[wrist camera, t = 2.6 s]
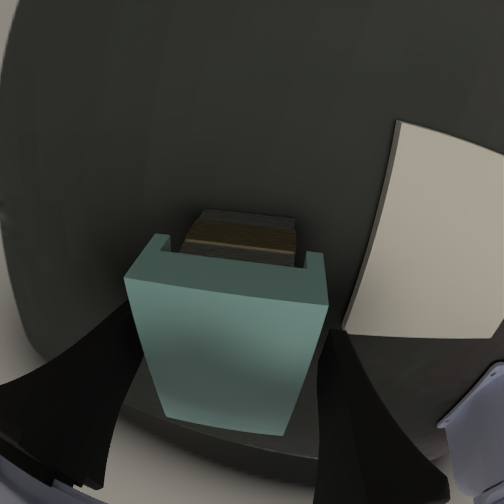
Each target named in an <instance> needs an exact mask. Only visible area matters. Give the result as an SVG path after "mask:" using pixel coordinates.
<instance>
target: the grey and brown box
mask: <svg viewBox="0 0 504 504" xmlns="http://www.w3.org/2000/svg"><path fill="white" fill-rule="evenodd" d="M178 253H182V254H189V255H197V256H205V257H213V258H221V259H229V260H237V261H245V262H253V263H262V264H270V265H278V266H287V267H294V262H295V256H296V231H295V218H288V217H280V216H271V215H262V214H253V213H244V212H235V211H225V210H215V209H204V210H203V212H202V214H201V215H200V217H199V219H198V220H195V222H194V223H193V225H192V227H191V228H190V230H189V231H188V233H187V235H186V236H185V238H184V244H183V245H182V247H181V249H180V251H179V252H178Z"/></svg>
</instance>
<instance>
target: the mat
mask: <svg viewBox="0 0 504 504" xmlns="http://www.w3.org/2000/svg"><path fill="white" fill-rule="evenodd" d="M503 319H504V155H503V154H501V153H498V152H496V151H493V150H491V149H488V148H486V147H483V146H480V145H478V144H475V143H472V142H469V141H467V140H464V139H461V138H458V137H455V136H452V135H449V134H446V133H442V132H439V131H436V130H433V129H429V128H426V127H422V126H419V125H415V124H411V123H407V122H404V121H400V120H396V125H395V131H394V136H393V142H392V147H391V152H390V157H389V162H388V166H387V171H386V176H385V180H384V184H383V189H382V193H381V197H380V201H379V205H378V209H377V213H376V217H375V221H374V224H373V228H372V232H371V235H370V239H369V242H368V246H367V249H366V253H365V256H364V259H363V263H362V266H361V269H360V272H359V275H358V279H357V282H356V285H355V288H354V291H353V294H352V297H351V300H350V303H349V305H348V308H347V311H346V314H345V317H344V320H343V322H342V330H346V331H347V333H348V334H357V335H372V336H390V337H414V338H491V337H492V335H493V334H494V332H495V331H496V329H497V328H498V326H499V325H500V323H501V322H502V320H503Z"/></svg>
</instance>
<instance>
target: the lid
mask: <svg viewBox="0 0 504 504" xmlns="http://www.w3.org/2000/svg"><path fill="white" fill-rule="evenodd" d="M124 282H125V286H126V290H127V294H128V298H129V302H130V306H131V310H132V314H133V317H134V321H135V324H136V328H137V331H138V335H139V338H140V342H141V345H142V348H143V351H144V355H145V358H146V361H147V364H148V367H149V370H150V373H151V376H152V379H153V382H154V385H155V387H156V390H157V393H158V396H159V398H160V401H161V404H162V406H163V409H164V412H165V414H166V416H167V417H171V418H175V419H179V420H184V421H188V422H193V423H198V424H203V425H208V426H213V427H219V428H225V429H231V430H238V431H245V432H253V433H261V434H270V435H280V436H283V434H284V432H285V429H286V427H287V424H288V422H289V419H290V417H291V414H292V412H293V409H294V406H295V404H296V401H297V399H298V396H299V393H300V391H301V388H302V385H303V382H304V380H305V377H306V374H307V371H308V368H309V365H310V362H311V360H312V357H313V354H314V351H315V348H316V345H317V342H318V339H319V335H320V332H321V329H322V326H323V323H324V320H325V316H326V313H327V310H328V307H329V303H328V293H327V284H326V275H325V266H324V258H323V253H317V252H309V251H306V257H305V262H304V267H303V268H295V267H287V266H278V265H270V264H262V263H253V262H245V261H237V260H229V259H221V258H213V257H205V256H197V255H189V254H182V253H174V252H172V251H171V241H170V235H164V234H155V235H154V236H153V237H152V239H151V240H150V241H149V243H148V244H147V245H146V247H145V248H144V250H143V251H142V252H141V254H140V255H139V256H138V258H137V259H136V260H135V262H134V263H133V265H132V266H131V267H130V269H129V270H128V272H127V273H126V274H125V276H124Z"/></svg>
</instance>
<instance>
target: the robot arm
mask: <svg viewBox="0 0 504 504" xmlns="http://www.w3.org/2000/svg"><path fill="white" fill-rule="evenodd" d="M143 356H144V351H143V348H142V345H141V342H140V338H139V335H138V331H137V328H136V324H135V321H134V317H133V314H132V310H131V306H130V302H129V300H127V301H125V302H124V303H123V304H122V305H121V306H119V307H118V308H117V309H116V310H115V311H114V312H112V313H111V314H110V315H109V316H108V317H107V318H106V319H104V320H103V321H102V322H101V323H100V324H99V325H97V326H96V327H95V328H94V329H93V330H92V331H90V332H89V333H88V334H87V335H86V336H84V337H83V338H82V339H80V340H79V341H78V342H77V343H75V344H74V345H73V346H72V347H70V348H69V349H67V350H66V351H65V352H63V353H62V354H60V355H59V356H57V357H56V358H54V359H53V360H51V361H50V362H48V363H46V364H45V365H43V366H41V367H39V368H37V369H36V370H34V371H32V372H30V373H28V374H26V375H24V376H22V377H20V378H17V379H15V380H13V381H10V382H8V383H6V384H2V385H0V504H107V503H105V502H102V501H100V500H97V499H95V498H93V497H91V496H89V495H86V494H84V493H82V492H80V491H78V490H76V489H74V488H73V485H74V484H75V485H77V486H79V487H82V486H83V485H85V486H87V487H90V488H92V489H94V490H99V489H101V488H103V486H104V477H105V470H106V463H107V458H108V453H109V448H110V443H111V439H112V435H113V431H114V428H115V424H116V421H117V417H118V414H119V411H120V408H121V406H122V403H123V401H124V398H125V396H126V394H127V392H128V390H129V387H130V385H131V383H132V381H133V379H134V376H135V374H136V372H137V370H138V368H139V365H140V363H141V361H142V359H143ZM317 397H318V415H319V434H320V442H319V458H318V469H317V478H316V487H315V493H314V500H313V504H445V503H447V502H448V501H449V500H450V490H449V483H448V479H447V476H445V475H444V474H443V473H442V472H441V471H440V470H439V469H438V468H436V467H435V466H434V465H433V464H432V463H431V462H430V461H429V460H428V459H427V458H426V457H425V456H424V455H423V454H422V453H421V452H420V451H419V450H418V449H417V447H416V446H415V445H414V444H413V443H412V441H411V440H410V439H409V438H408V437H407V436H406V434H405V433H404V432H403V431H402V429H401V428H400V427H399V425H398V424H397V423H396V421H395V420H394V419H393V417H392V416H391V414H390V413H389V411H388V410H387V408H386V407H385V405H384V403H383V402H382V400H381V399H380V397H379V395H378V393H377V392H376V390H375V388H374V386H373V385H372V383H371V381H370V379H369V377H368V375H367V373H366V371H365V369H364V368H363V365H362V363H361V361H360V359H359V357H358V355H357V353H356V351H355V349H354V346H353V344H352V342H351V340H350V337H349V335H348V333H347V331H346V330H337V329H330V330H329V333H328V336H327V339H326V341H325V344H324V347H323V350H322V353H321V355H320V358H319V361H318V372H317ZM437 427H438V428H445V431H446V436H447V441H448V446H449V452H450V458H451V464H452V470H453V477H454V481H455V483H456V485H457V487H458V488H459V490H460V491H461V492H462V493H463V494H465V495H468V496H477V497H475V498H474V504H504V362H497V363H495V364H493V365H492V366H491V367H490V369H489V370H488V371H487V372H486V373H485V375H484V376H483V377H482V378H481V379H480V380H479V381H478V383H477V384H476V385H475V386H474V387H473V388H472V389H471V390H470V391H469V393H468V394H467V395H466V396H465V397H464V398H463V399H462V400H461V401H460V402H459V403H458V404H457V405H456V406H455V407H454V408H453V409H452V410H451V411H450V412H449V413H448V414H447V415H446V416H445V417H444V418H443V419H442V420H441V421H440V422H439V423H438V424H437Z"/></svg>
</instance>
